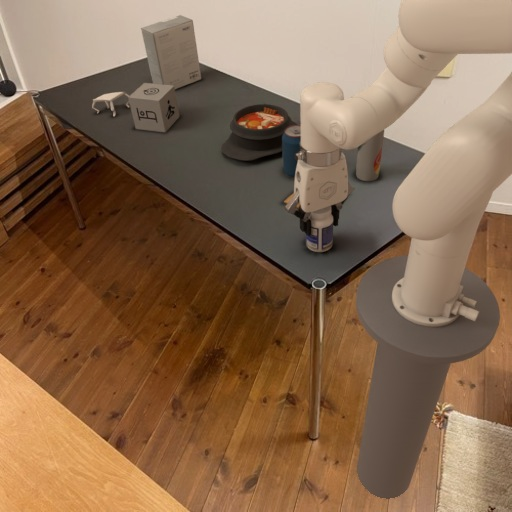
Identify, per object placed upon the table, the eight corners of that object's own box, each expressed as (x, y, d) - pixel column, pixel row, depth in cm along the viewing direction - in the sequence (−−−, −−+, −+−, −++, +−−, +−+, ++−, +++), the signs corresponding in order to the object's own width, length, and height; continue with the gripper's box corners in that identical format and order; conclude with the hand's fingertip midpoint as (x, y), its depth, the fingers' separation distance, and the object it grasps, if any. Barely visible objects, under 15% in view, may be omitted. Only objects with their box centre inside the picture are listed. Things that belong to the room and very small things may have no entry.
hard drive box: (189, 73, 181) (181, 14, 168) (202, 79, 177) (194, 19, 163) (152, 87, 174) (140, 27, 161) (164, 94, 170) (152, 32, 156)
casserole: (267, 117, 154) (266, 90, 148) (316, 136, 144) (316, 108, 138) (206, 151, 141) (203, 124, 135) (255, 175, 131) (253, 146, 125)
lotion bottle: (382, 172, 128) (391, 98, 115) (373, 184, 125) (382, 108, 111) (361, 167, 131) (368, 93, 117) (352, 178, 127) (358, 103, 114)
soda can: (314, 175, 129) (315, 133, 121) (289, 182, 128) (289, 140, 119) (302, 162, 134) (302, 120, 126) (278, 169, 132) (277, 127, 124)
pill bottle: (330, 235, 112) (332, 198, 105) (334, 252, 107) (336, 214, 101) (304, 237, 112) (304, 200, 105) (307, 254, 108) (307, 217, 101)
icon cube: (135, 128, 153) (128, 97, 146) (151, 113, 160) (144, 82, 153) (165, 132, 150) (158, 100, 144) (179, 116, 157) (174, 85, 150)
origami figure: (105, 121, 158) (101, 106, 155) (92, 112, 163) (88, 98, 159) (138, 107, 163) (135, 93, 160) (125, 100, 168) (121, 85, 165)
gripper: (289, 174, 89) (291, 251, 102) (371, 148, 94) (364, 224, 106) (270, 155, 95) (274, 230, 107) (349, 131, 99) (345, 205, 111)
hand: (319, 226), depth 106 cm, fingers closed on pill bottle, 5 cm apart
